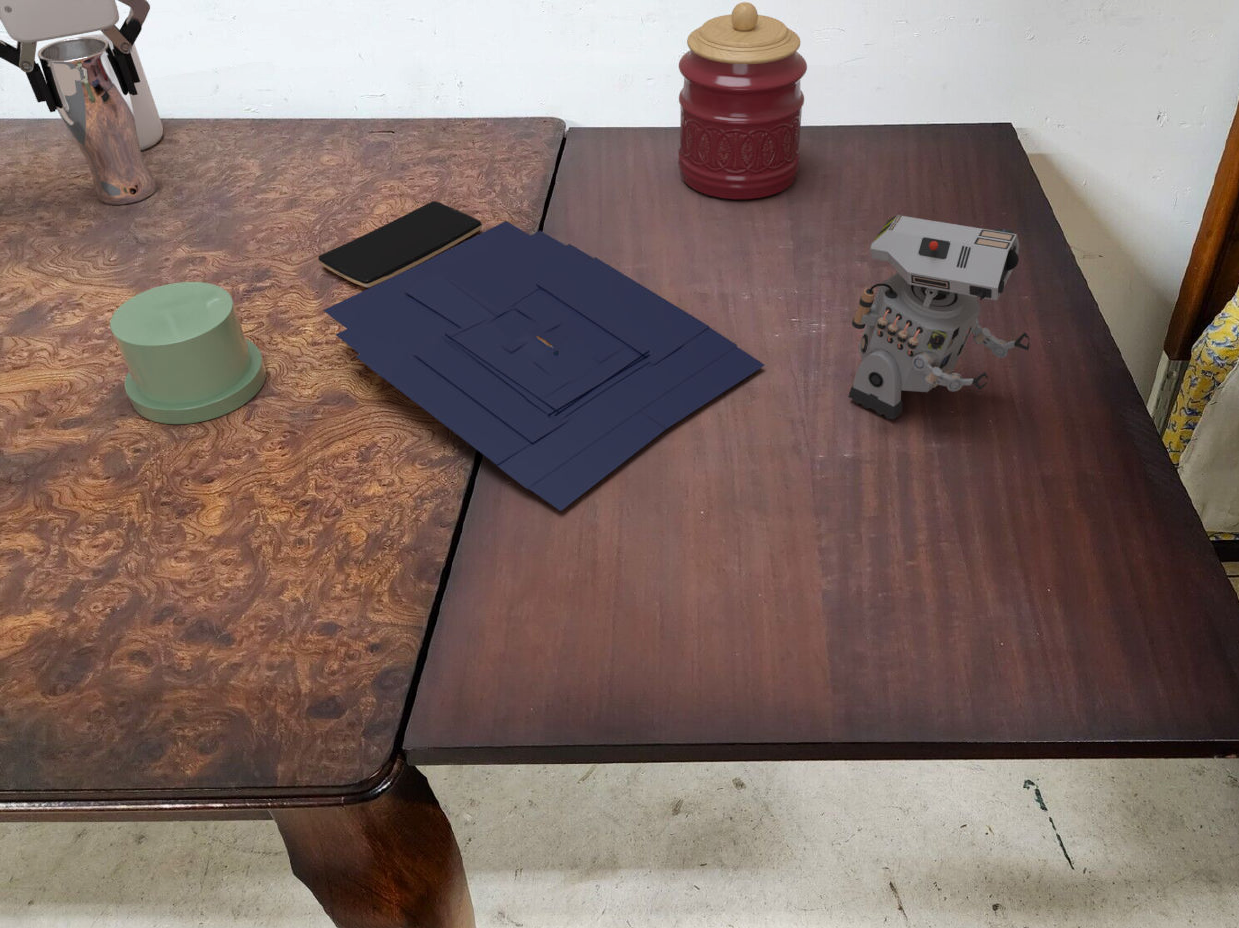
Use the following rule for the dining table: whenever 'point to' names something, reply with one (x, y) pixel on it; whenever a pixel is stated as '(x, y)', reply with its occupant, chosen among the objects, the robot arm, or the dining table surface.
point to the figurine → (928, 308)
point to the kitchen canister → (741, 106)
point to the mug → (141, 104)
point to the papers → (539, 356)
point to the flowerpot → (186, 353)
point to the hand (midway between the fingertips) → (91, 97)
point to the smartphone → (400, 244)
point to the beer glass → (98, 116)
